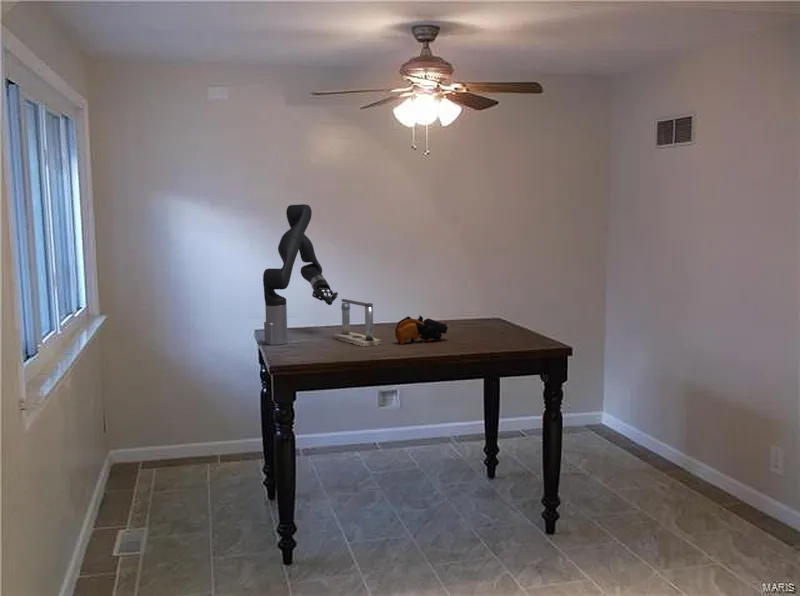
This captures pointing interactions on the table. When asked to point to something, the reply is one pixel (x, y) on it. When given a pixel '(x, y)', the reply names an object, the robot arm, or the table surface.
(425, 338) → the tool
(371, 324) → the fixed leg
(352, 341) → the hole board
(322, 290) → the robot arm
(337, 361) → the table surface
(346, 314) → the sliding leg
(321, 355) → the table surface
